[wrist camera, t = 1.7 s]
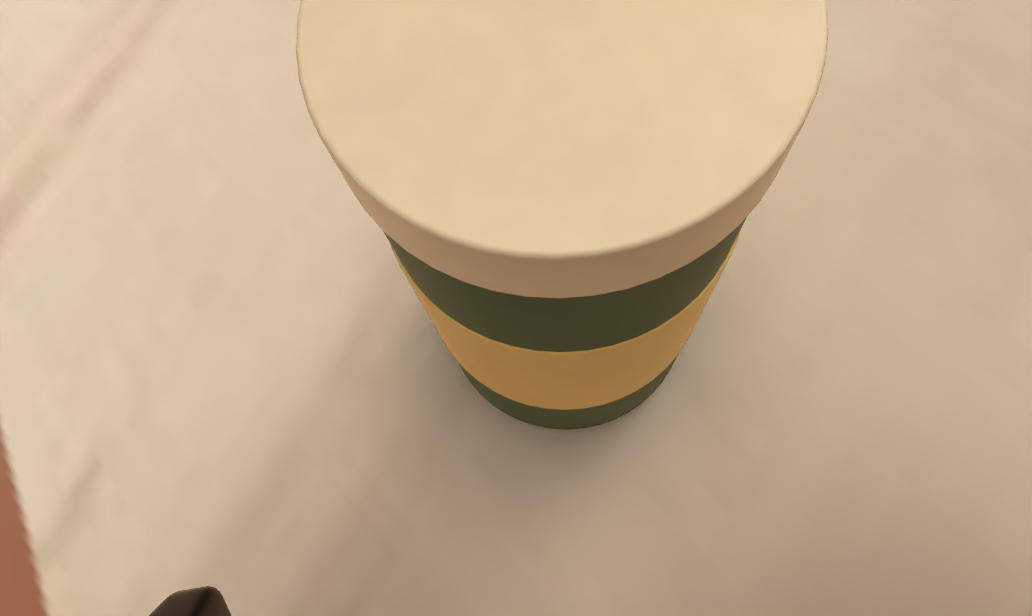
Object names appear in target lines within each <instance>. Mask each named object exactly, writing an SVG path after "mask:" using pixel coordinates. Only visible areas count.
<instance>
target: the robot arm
mask: <svg viewBox="0 0 1032 616" xmlns="http://www.w3.org/2000/svg"><path fill="white" fill-rule="evenodd" d="M149 616H231V613H230V611H229V609H228V607H227V605H226V603H225V600H224V598H223V596H222V595H221V593H220V591H218V590H217V589H216V588H214V587H209V586H207V587H201V588H195V589H189V590H183V591H178V592H175V593H173V594H172V595H170V596H169V597H168V598H167V599H165V600H164V601H163V602H162V603H161V604H160V605H159V606H158V607H157V608H156V609H155V610H154V611H153V612H152V613H151V614H150V615H149Z"/></svg>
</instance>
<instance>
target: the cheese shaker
mask: <svg viewBox="0 0 1032 616" xmlns="http://www.w3.org/2000/svg"><path fill="white" fill-rule="evenodd" d="M827 40H828V20H827V3H826V0H301V5H300V10H299V16H298V21H297V43H296V55H297V64H298V72H299V81H300V85H301V88H302V92H303V95H304V99H305V102H306V106H307V109H308V112H309V114H310V116H311V118H312V121H313V123H314V125H315V127H316V129H317V131H318V134H319V136H320V138H321V140H322V141H323V143H324V145H325V146H326V148H327V150H328V151H329V153H330V155H331V156H332V158H333V160H334V161H335V163H336V165H337V166H338V168H339V170H340V171H341V173H342V175H343V177H344V178H345V180H346V182H347V183H348V185H349V187H350V188H351V190H352V191H353V193H354V194H355V196H356V197H357V199H358V200H359V202H360V203H361V205H362V206H363V208H364V210H365V211H366V212H367V213H368V214H369V215H370V217H371V218H372V219H373V220H374V221H375V222H376V223H377V224H378V226H379V227H380V228H381V229H382V230H383V231H384V233H385V235H386V237H387V238H388V240H389V242H390V244H391V247H392V250H393V252H394V254H395V256H396V258H397V260H398V262H399V265H400V267H401V269H402V270H403V272H404V274H405V275H406V277H407V279H408V281H409V282H410V284H411V286H412V287H413V289H414V291H415V293H416V294H417V296H418V298H419V299H420V301H421V303H422V305H423V306H424V308H425V310H426V311H427V313H428V315H429V317H430V318H431V320H432V322H433V324H434V325H435V327H436V329H437V330H438V332H439V334H440V336H441V337H442V339H443V341H444V342H445V344H446V345H447V347H448V348H449V350H450V351H451V353H452V355H453V356H454V357H455V358H456V359H457V361H458V363H459V364H460V366H461V368H462V370H463V371H464V373H465V374H466V376H467V377H468V379H469V380H470V382H471V383H472V384H473V386H474V387H475V388H476V389H477V390H478V391H479V392H480V394H481V395H483V396H484V397H485V398H486V399H487V400H488V401H489V402H490V403H492V404H493V405H494V406H496V407H497V408H499V409H500V410H502V411H503V412H505V413H507V414H509V415H511V416H513V417H515V418H517V419H519V420H521V421H524V422H527V423H530V424H533V425H538V426H543V427H548V428H558V429H574V428H585V427H590V426H595V425H599V424H602V423H605V422H608V421H611V420H614V419H616V418H618V417H620V416H622V415H624V414H626V413H628V412H629V411H631V410H632V409H634V408H635V407H636V406H638V405H639V404H641V403H642V402H643V401H644V400H645V399H646V398H648V397H649V396H650V395H651V394H652V393H653V392H654V391H655V389H656V388H657V387H658V386H659V385H660V384H661V382H662V381H663V380H664V378H665V377H666V375H667V373H668V372H669V370H670V369H671V367H672V365H673V363H674V361H675V359H676V357H677V355H678V354H679V352H680V351H681V349H682V348H683V346H684V344H685V343H686V341H687V340H688V338H689V336H690V334H691V332H692V330H693V328H694V326H695V324H696V322H697V320H698V318H699V316H700V315H701V313H702V311H703V309H704V307H705V305H706V303H707V301H708V299H709V297H710V295H711V293H712V291H713V289H714V287H715V285H716V283H717V281H718V280H719V278H720V276H721V274H722V272H723V270H724V268H725V266H726V264H727V262H728V260H729V258H730V255H731V253H732V251H733V249H734V247H735V244H736V242H737V239H738V236H739V232H740V229H741V227H742V225H743V224H744V222H745V220H746V218H747V216H748V215H749V213H750V212H751V211H752V210H753V209H754V208H755V207H756V205H757V204H758V203H759V202H760V200H761V199H762V197H763V196H764V194H765V193H766V191H767V189H768V188H769V186H770V185H771V183H772V182H773V180H774V179H775V177H776V175H777V173H778V171H779V169H780V168H781V166H782V164H783V162H784V160H785V158H786V156H787V154H788V152H789V150H790V149H791V147H792V145H793V143H794V141H795V139H796V137H797V135H798V133H799V131H800V129H801V128H802V126H803V124H804V122H805V119H806V117H807V115H808V113H809V110H810V108H811V106H812V104H813V101H814V99H815V97H816V95H817V92H818V88H819V84H820V80H821V77H822V73H823V69H824V66H825V59H826V50H827Z"/></svg>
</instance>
